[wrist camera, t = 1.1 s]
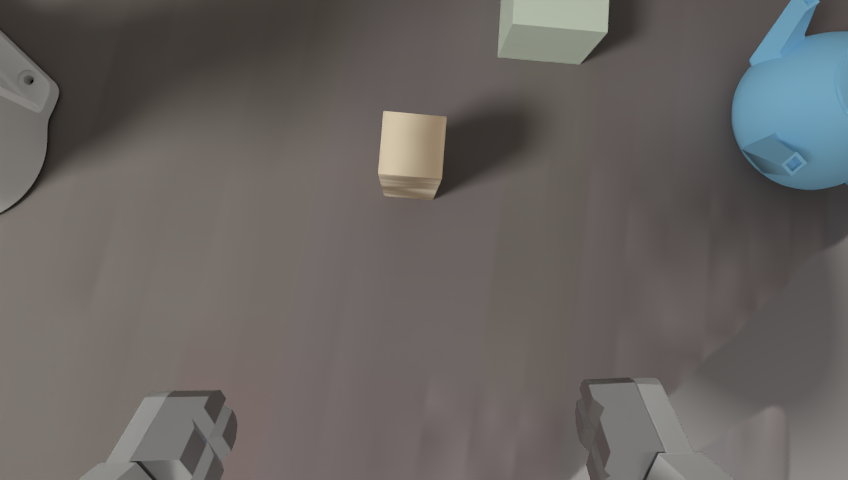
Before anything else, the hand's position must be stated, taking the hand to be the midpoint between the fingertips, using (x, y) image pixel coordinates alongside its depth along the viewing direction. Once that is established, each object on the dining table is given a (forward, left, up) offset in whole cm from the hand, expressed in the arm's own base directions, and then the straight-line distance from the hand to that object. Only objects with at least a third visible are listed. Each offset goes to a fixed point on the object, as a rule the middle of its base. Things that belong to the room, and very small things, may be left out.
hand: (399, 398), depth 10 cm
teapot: (+8, +40, -31) cm, 51 cm away
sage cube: (-14, +26, -31) cm, 43 cm away
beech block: (-9, +7, -31) cm, 33 cm away
